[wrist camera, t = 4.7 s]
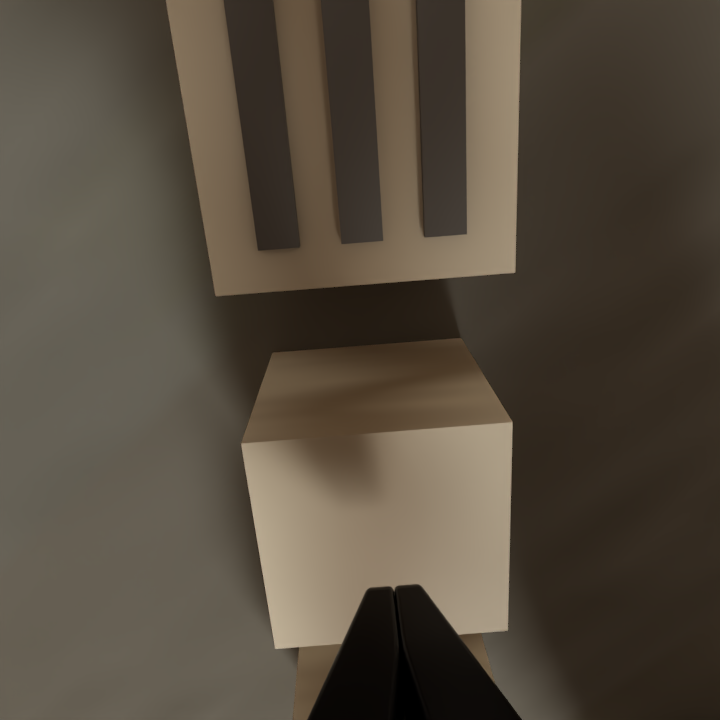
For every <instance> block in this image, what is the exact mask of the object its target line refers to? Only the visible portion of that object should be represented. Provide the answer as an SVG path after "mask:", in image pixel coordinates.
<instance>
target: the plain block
mask: <svg viewBox="0 0 720 720" xmlns="http://www.w3.org/2000/svg"><path fill="white" fill-rule="evenodd" d="M512 429H513V422H512V420H511V419H510V417H509V415H508V414H507V412H506V411H505V409H504V407H503V406H502V404H501V402H500V401H499V399H498V397H497V396H496V394H495V393H494V391H493V389H492V388H491V386H490V384H489V383H488V381H487V379H486V378H485V376H484V375H483V373H482V371H481V370H480V368H479V366H478V365H477V363H476V362H475V360H474V358H473V357H472V355H471V353H470V352H469V350H468V348H467V347H466V345H465V344H464V342H463V340H462V339H461V338H454V339H441V340H428V341H416V342H403V343H390V344H377V345H364V346H351V347H339V348H326V349H313V350H300V351H287V352H274V353H272V355H271V358H270V361H269V364H268V367H267V370H266V373H265V375H264V378H263V381H262V384H261V387H260V390H259V393H258V396H257V399H256V402H255V404H254V407H253V410H252V413H251V416H250V419H249V422H248V425H247V428H246V430H245V433H244V436H243V439H242V442H241V447H242V453H243V459H244V465H245V471H246V476H247V482H248V488H249V494H250V500H251V506H252V512H253V518H254V524H255V530H256V536H257V542H258V548H259V554H260V560H261V566H262V572H263V578H264V584H265V590H266V596H267V602H268V608H269V614H270V620H271V626H272V632H273V638H274V644H275V649H282V648H294V647H307V646H320V645H333V644H342V642H343V640H344V637H345V635H346V633H347V631H348V629H349V627H350V624H351V622H352V620H353V618H354V616H355V613H356V611H357V609H358V607H359V605H360V602H361V600H362V598H363V596H364V594H365V592H366V590H367V589H368V588H370V587H383V586H391V587H392V588H393V589H395V587H396V586H398V585H409V584H419V585H421V586H422V587H423V588H424V590H425V591H426V592H427V594H428V595H429V596H430V598H431V599H432V600H433V602H434V603H435V604H436V606H437V607H438V608H439V610H440V611H441V612H442V614H443V615H444V616H445V618H446V619H447V620H448V622H449V623H450V624H451V626H452V627H453V628H454V630H455V631H456V632H457V634H458V635H461V634H473V633H486V632H499V631H508V600H509V557H510V515H511V472H512Z"/></svg>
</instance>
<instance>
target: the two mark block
mask: <svg viewBox="0 0 720 720" xmlns="http://www.w3.org/2000/svg"><path fill="white" fill-rule="evenodd" d="M459 636H460V638H461V639H462V640H463V642H464V643H465V644H466V646H467V647H468V648H469V650H470V651H471V652H472V654H473V655H474V656H475V658H476V659H477V660H478V662H479V663H480V664H481V666H482V667H483V668H484V670H485V671H486V672H487V674H488V675H489V676H490V678H491V679H492V680H493V682H494V683H495V681H494V678H493V674H492V671H491V667H490V664H489V660H488V657H487V653H486V650H485V646H484V642H483V639H482V635H481V633H473V634H461V635H459ZM340 646H341V644H333V645H320V646H307V647H299V654H298V666H297V677H296V688H295V700H294V711H293V720H307V719H308V716H309V714H310V712H311V710H312V708H313V705H314V703H315V701H316V699H317V697H318V695H319V692H320V690H321V688H322V686H323V684H324V681H325V679H326V677H327V675H328V673H329V670H330V668H331V666H332V664H333V662H334V659H335V657H336V655H337V653H338V651H339V648H340Z"/></svg>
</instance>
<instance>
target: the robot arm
mask: <svg viewBox="0 0 720 720" xmlns="http://www.w3.org/2000/svg"><path fill="white" fill-rule="evenodd" d="M307 720H522V719H521V718H520V716H519V715H518V714H517V712H516V711H515V710H514V708H513V707H512V706H511V704H510V703H509V702H508V700H507V699H506V698H505V696H504V695H503V694H502V692H501V691H500V690H499V688H498V687H497V686H496V684H495V683H494V682H493V680H492V679H491V678H490V676H489V675H488V674H487V672H486V671H485V670H484V668H483V667H482V666H481V664H480V663H479V662H478V660H477V659H476V658H475V656H474V655H473V654H472V652H471V651H470V650H469V648H468V647H467V646H466V644H465V643H464V642H463V640H462V639H461V638H460V636H459V635H458V634H457V632H456V631H455V630H454V628H453V627H452V626H451V624H450V623H449V622H448V620H447V619H446V618H445V616H444V615H443V614H442V612H441V611H440V610H439V608H438V607H437V606H436V604H435V603H434V602H433V600H432V599H431V598H430V596H429V595H428V594H427V592H426V591H425V590H424V588H423V587H422V586H421V585H419V584H409V585H398V586H396V587H395V589H393V588H392V587H391V586H383V587H370V588H368V589H367V590H366V592H365V594H364V596H363V598H362V600H361V602H360V605H359V607H358V609H357V611H356V613H355V616H354V618H353V620H352V622H351V624H350V627H349V629H348V631H347V633H346V635H345V637H344V640H343V642H342V644H341V646H340V648H339V651H338V653H337V655H336V657H335V659H334V662H333V664H332V666H331V668H330V670H329V673H328V675H327V677H326V679H325V681H324V684H323V686H322V688H321V690H320V692H319V695H318V697H317V699H316V701H315V703H314V705H313V708H312V710H311V712H310V714H309V716H308V719H307Z"/></svg>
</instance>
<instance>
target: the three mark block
mask: <svg viewBox="0 0 720 720" xmlns="http://www.w3.org/2000/svg"><path fill="white" fill-rule="evenodd" d="M166 5H167V11H168V17H169V23H170V29H171V35H172V41H173V47H174V53H175V58H176V64H177V70H178V76H179V82H180V88H181V94H182V100H183V106H184V112H185V118H186V124H187V130H188V136H189V142H190V148H191V153H192V159H193V165H194V171H195V177H196V183H197V189H198V195H199V201H200V207H201V213H202V219H203V225H204V231H205V237H206V243H207V249H208V254H209V260H210V266H211V272H212V278H213V284H214V290H215V296H226V295H239V294H252V293H265V292H277V291H290V290H303V289H315V288H328V287H341V286H353V285H366V284H379V283H392V282H404V281H417V280H430V279H442V278H455V277H468V276H480V275H493V274H506V273H515V263H516V218H517V172H518V127H519V82H520V36H521V0H166Z"/></svg>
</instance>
